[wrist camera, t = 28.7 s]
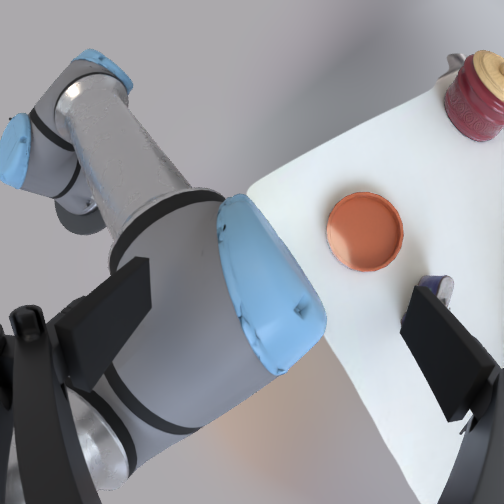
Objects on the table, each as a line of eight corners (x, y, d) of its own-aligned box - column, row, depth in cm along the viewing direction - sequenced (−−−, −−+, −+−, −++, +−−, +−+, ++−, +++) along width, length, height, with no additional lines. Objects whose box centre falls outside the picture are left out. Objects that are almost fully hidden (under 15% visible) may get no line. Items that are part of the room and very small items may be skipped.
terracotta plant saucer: (317, 260, 46) (318, 259, 44) (335, 187, 46) (336, 183, 44) (389, 280, 43) (393, 280, 41) (405, 207, 43) (409, 204, 41)
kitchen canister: (474, 84, 41) (508, 36, 24) (504, 137, 39) (550, 99, 22) (431, 90, 43) (461, 33, 26) (463, 148, 42) (509, 103, 24)
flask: (422, 272, 42) (450, 272, 32) (436, 280, 42) (466, 282, 31) (397, 325, 42) (419, 339, 32) (411, 332, 42) (435, 347, 31)
